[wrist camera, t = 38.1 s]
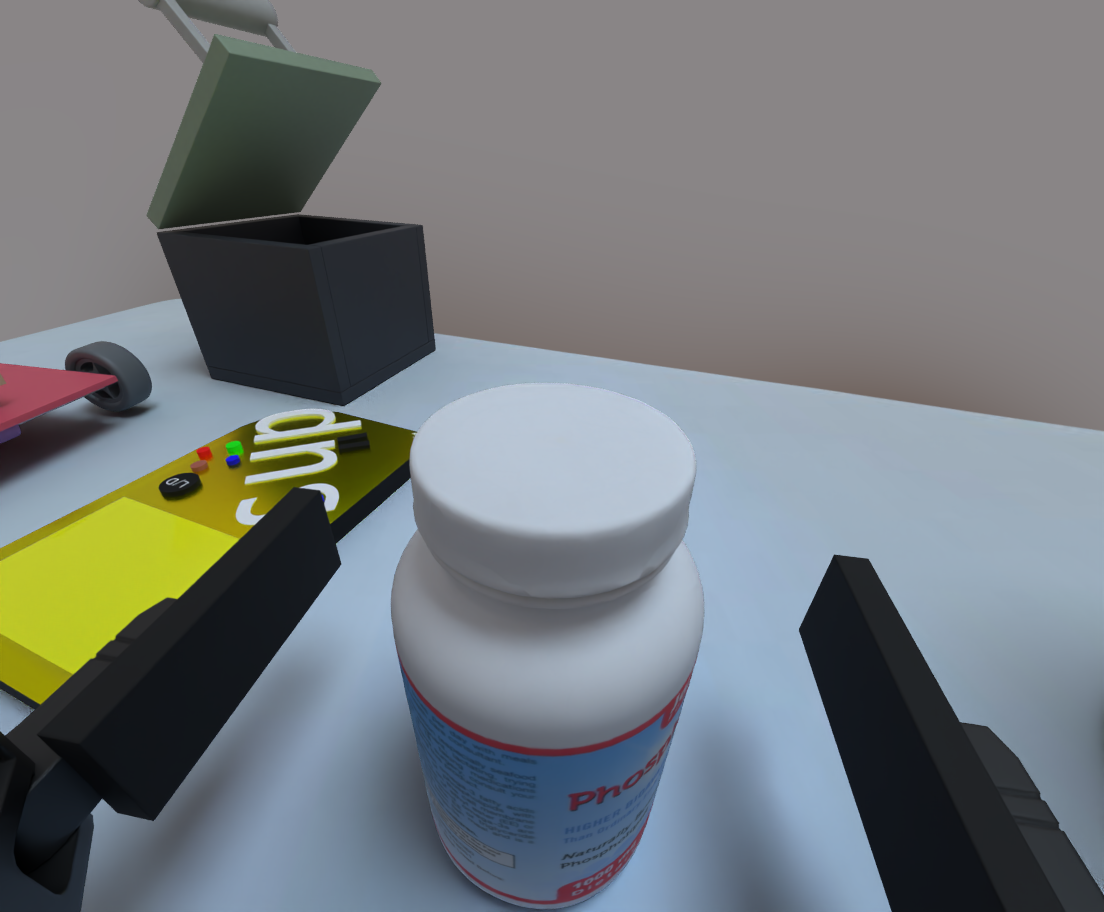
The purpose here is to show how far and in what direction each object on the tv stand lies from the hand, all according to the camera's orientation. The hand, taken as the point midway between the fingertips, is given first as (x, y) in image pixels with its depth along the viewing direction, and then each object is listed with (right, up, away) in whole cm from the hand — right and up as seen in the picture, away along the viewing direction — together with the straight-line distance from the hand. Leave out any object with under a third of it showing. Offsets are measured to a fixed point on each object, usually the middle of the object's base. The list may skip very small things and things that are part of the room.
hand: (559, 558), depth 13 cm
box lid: (-18, +23, +19) cm, 35 cm away
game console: (-15, 0, +10) cm, 18 cm away
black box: (-18, +10, +26) cm, 34 cm away
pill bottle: (-1, -7, +1) cm, 7 cm away
